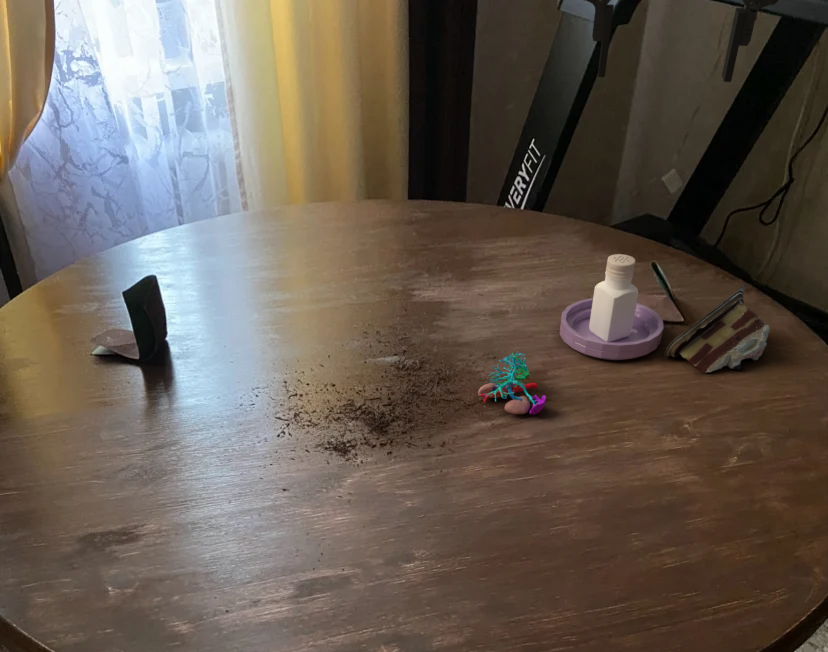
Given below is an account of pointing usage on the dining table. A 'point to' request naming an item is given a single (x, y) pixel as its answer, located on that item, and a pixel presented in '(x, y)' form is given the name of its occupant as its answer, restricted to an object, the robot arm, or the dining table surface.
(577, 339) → the dish
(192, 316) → the dining table surface
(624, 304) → the pepper shaker
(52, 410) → the dining table surface
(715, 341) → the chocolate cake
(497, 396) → the anatomy model
